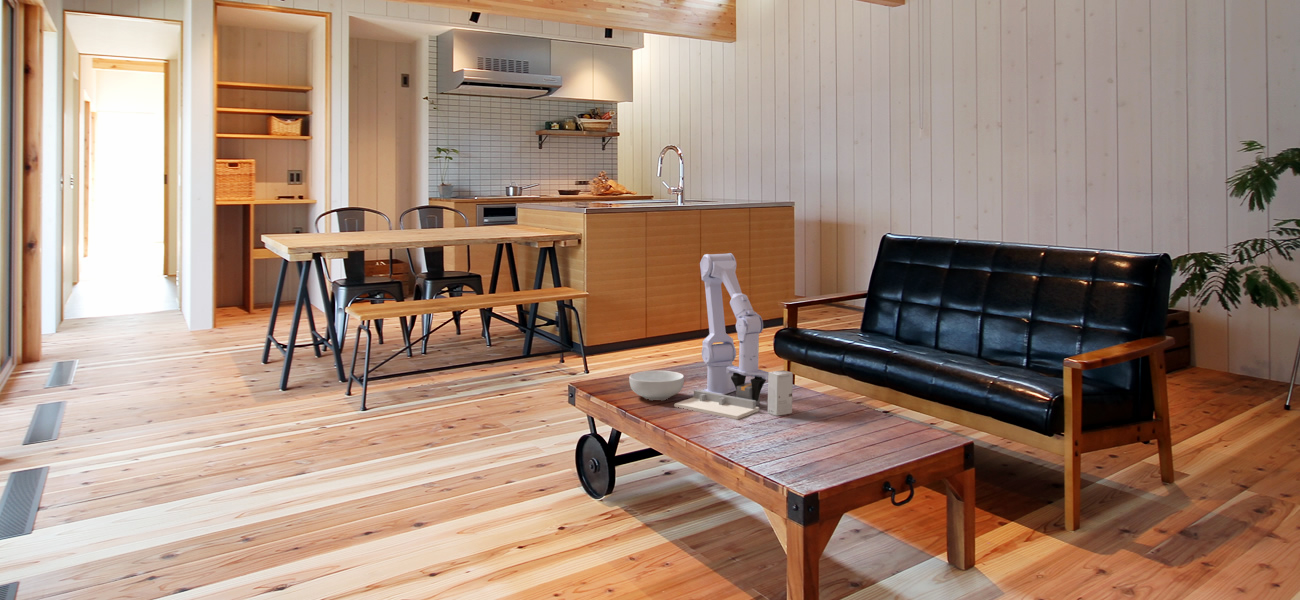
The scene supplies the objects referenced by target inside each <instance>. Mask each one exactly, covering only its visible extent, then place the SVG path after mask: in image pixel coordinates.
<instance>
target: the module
mask: <svg viewBox="0 0 1300 600" xmlns="http://www.w3.org/2000/svg"><path fill="white" fill-rule="evenodd" d="M735 392H736V394H735V395H736V396H735V397H739V398H744V399H750V400H753V399H752V384H751V382H745V384H742V385H739V386H737V391H735ZM760 399H761V394H760V395H759V399H758V401H756V406H759V405H761V403H760V401H761V400H760Z"/></svg>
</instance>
